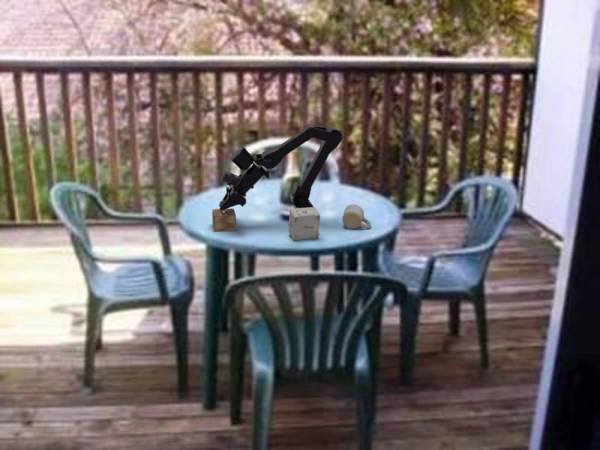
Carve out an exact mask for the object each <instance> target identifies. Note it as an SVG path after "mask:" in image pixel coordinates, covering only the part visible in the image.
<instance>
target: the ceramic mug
mask: <svg viewBox="0 0 600 450" xmlns="http://www.w3.org/2000/svg"><path fill="white" fill-rule="evenodd" d="M342 224H343V226H344V227H345V228H347V229H348V230H349V229H350V230H353V229H357V228H359V227H361V228H362V229H367V230H368V229H370V227H371V226H372V223H371V221H370V220H369V219H367V218H366V217H365V212H364V209H363V208H362V207H361V206H360V205H358V204H349V205H347V206H346V207H345V209H344V211H343V214H342Z"/></svg>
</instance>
